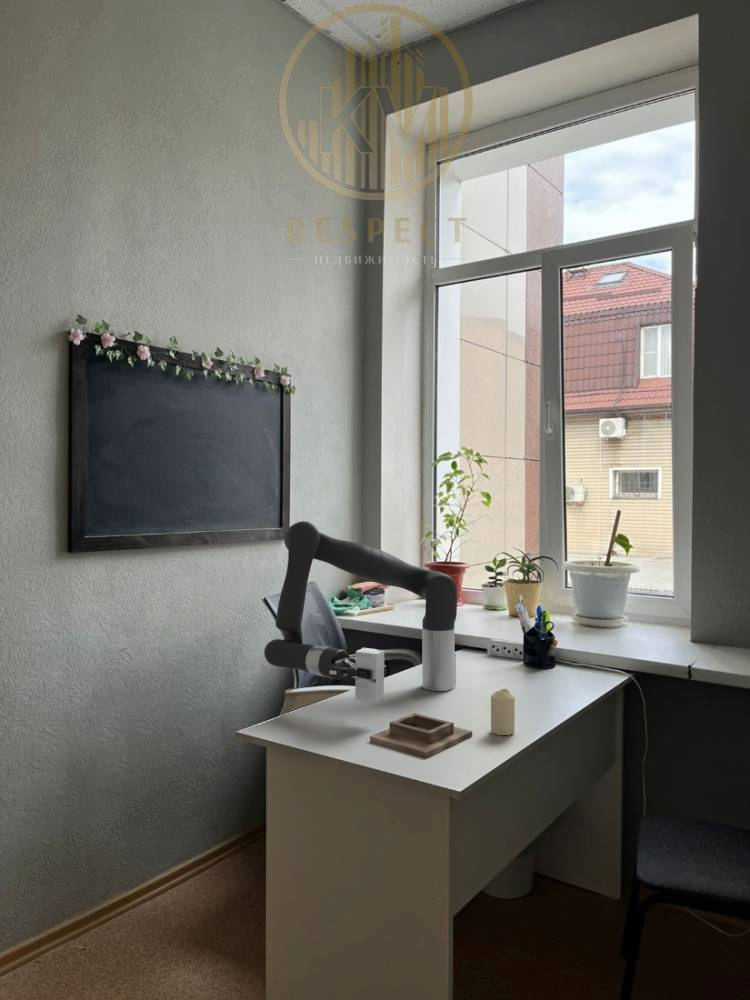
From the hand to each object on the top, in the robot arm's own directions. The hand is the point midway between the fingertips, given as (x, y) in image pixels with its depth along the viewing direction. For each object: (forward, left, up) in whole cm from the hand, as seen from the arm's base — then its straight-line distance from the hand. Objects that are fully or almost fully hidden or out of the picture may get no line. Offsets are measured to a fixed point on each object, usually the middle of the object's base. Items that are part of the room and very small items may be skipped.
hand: (378, 672), depth 178 cm
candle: (-16, +25, -13) cm, 33 cm away
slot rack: (0, +13, -13) cm, 19 cm away
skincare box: (0, -3, -7) cm, 8 cm away
